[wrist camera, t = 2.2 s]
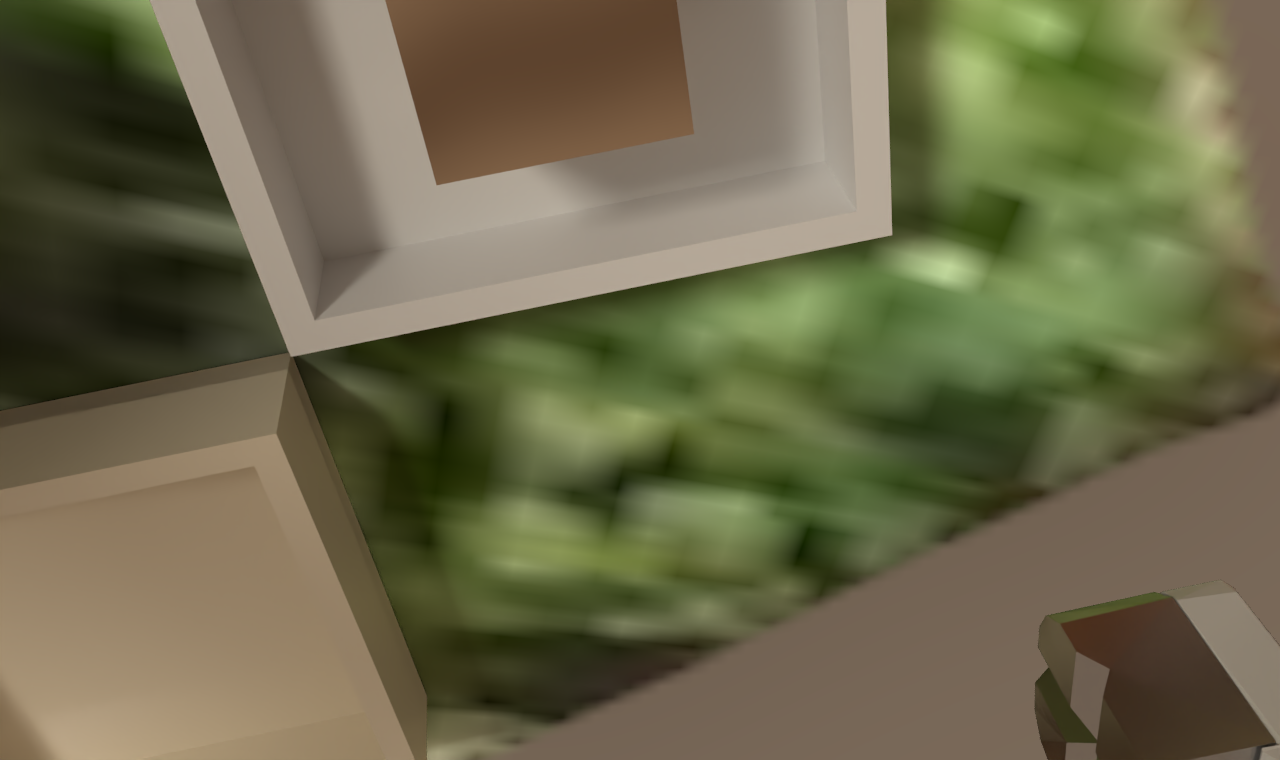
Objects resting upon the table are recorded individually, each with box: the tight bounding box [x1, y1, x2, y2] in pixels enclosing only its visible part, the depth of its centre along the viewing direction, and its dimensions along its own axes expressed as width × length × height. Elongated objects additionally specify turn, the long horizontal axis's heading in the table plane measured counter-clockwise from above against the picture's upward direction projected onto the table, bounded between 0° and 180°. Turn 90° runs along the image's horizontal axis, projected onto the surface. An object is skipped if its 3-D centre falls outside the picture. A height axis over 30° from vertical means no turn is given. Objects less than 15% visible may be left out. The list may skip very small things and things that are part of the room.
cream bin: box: [0, 353, 427, 760], centre depth 33 cm, size 14×14×4 cm
